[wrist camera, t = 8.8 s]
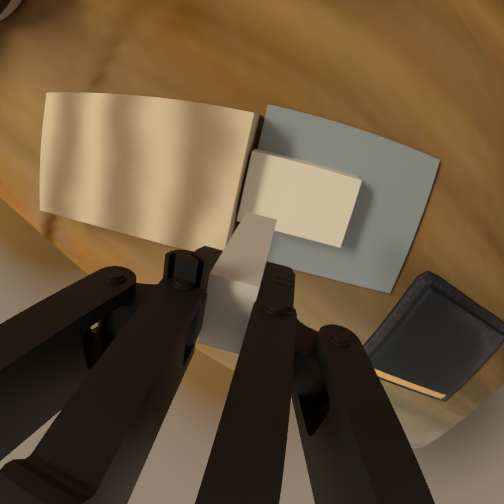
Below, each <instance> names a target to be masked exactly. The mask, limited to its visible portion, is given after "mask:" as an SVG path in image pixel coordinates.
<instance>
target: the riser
mask: <svg viewBox="0 0 504 504" xmlns="http://www.w3.org/2000/svg"><path fill="white" fill-rule="evenodd" d="M259 116H260V114H257V113H252V112H247V111H242V110H237V109H232V108H227V107H221V106H215V105H209V104H203V103H196V102H189V101H182V100H174V99H166V98H157V97H147V96H136V95H123V94H106V93H47V96H46V103H45V111H44V119H43V129H42V142H41V158H40V210H41V211H45V212H49V213H52V214H56V215H59V216H63V217H66V218H70V219H73V220H77V221H81V222H84V223H88V224H91V225H95V226H99V227H102V228H106V229H110V230H113V231H117V232H121V233H124V234H128V235H132V236H135V237H139V238H143V239H146V240H150V241H154V242H158V243H161V244H165V245H169V246H173V247H176V248H180V249H184V250H189V251H195V250H196V249H198V248H201V247H203V246H208V247H212V248H215V249H219V250H224V249H225V247H226V245H227V244H228V242H229V240H230V239H231V237H232V235H233V234H234V229H235V224H236V220H237V215H238V210H239V206H240V201H241V196H242V192H243V187H244V183H245V178H246V174H247V169H248V165H249V160H250V156H251V151H252V147H253V142H254V138H255V134H256V129H257V125H258V121H259Z"/></svg>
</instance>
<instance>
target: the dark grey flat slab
mask: <svg viewBox="0 0 504 504" xmlns="http://www.w3.org/2000/svg"><path fill="white" fill-rule="evenodd" d="M503 343H504V322H503V321H502V320H501V319H499V318H498V317H496V316H495V315H494V314H492V313H491V312H489V311H488V310H486V309H485V308H483V307H482V306H480V305H479V304H477V303H476V302H474V301H473V300H472V299H470V298H469V297H467V296H466V295H465V294H463V293H462V292H460V291H459V290H458V289H456V288H455V287H453V286H452V285H450V284H449V283H448V282H446V281H445V280H444V279H442V278H441V277H439V276H438V275H436V274H433V273H431V272H429V271H426V272H424V273H423V274H421V275H419V276H418V277H417V278H416V279H415V280H414V282H413V283H412V284H411V285H410V287H409V288H408V289H407V291H406V292H405V293H404V295H403V296H402V298H401V299H400V300H399V302H398V303H397V304H396V306H395V307H394V308H393V310H392V311H391V312H390V314H389V315H388V316H387V317H386V319H385V320H384V321H383V323H382V324H381V325H380V326H379V327H378V329H377V330H376V331H375V332H374V333H373V334H372V336H371V337H370V338H369V339H368V340H367V341H366V343H365V344H364V345H363V348H364V350H365V351H366V353H367V355H368V357H369V359H370V361H371V363H372V365H373V367H374V369H375V371H376V373H377V375H378V377H379V379H381V380H384V381H387V382H390V383H392V384H395V385H398V386H401V387H403V388H406V389H409V390H412V391H415V392H418V393H421V394H423V395H426V396H429V397H432V398H435V399H438V400H441V401H444V402H446V401H447V400H448V399H449V398H450V397H451V396H453V395H454V394H455V393H456V392H457V391H458V390H460V389H461V388H462V387H463V386H464V385H465V384H466V383H467V382H468V381H469V380H470V379H471V378H472V377H473V376H474V375H475V374H476V373H477V372H478V371H479V370H480V369H481V368H482V367H483V366H484V365H485V364H486V362H487V361H488V360H489V359H490V358H491V357H492V356H493V355H494V354H495V353H496V351H497V350H498V349H499V348H500V347H501V346H502V344H503Z"/></svg>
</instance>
